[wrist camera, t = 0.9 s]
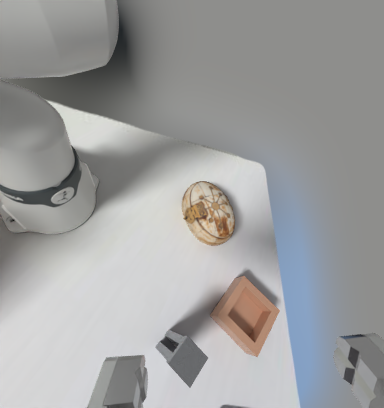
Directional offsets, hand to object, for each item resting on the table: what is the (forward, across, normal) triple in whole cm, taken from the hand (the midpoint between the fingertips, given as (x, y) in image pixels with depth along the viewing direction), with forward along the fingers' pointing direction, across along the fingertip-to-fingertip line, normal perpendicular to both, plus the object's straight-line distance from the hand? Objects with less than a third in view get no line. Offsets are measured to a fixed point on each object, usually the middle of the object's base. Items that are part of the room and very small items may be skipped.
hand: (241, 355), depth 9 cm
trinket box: (+42, -2, +10) cm, 43 cm away
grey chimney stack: (+22, +7, +27) cm, 35 cm away
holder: (+28, -8, +27) cm, 40 cm away
